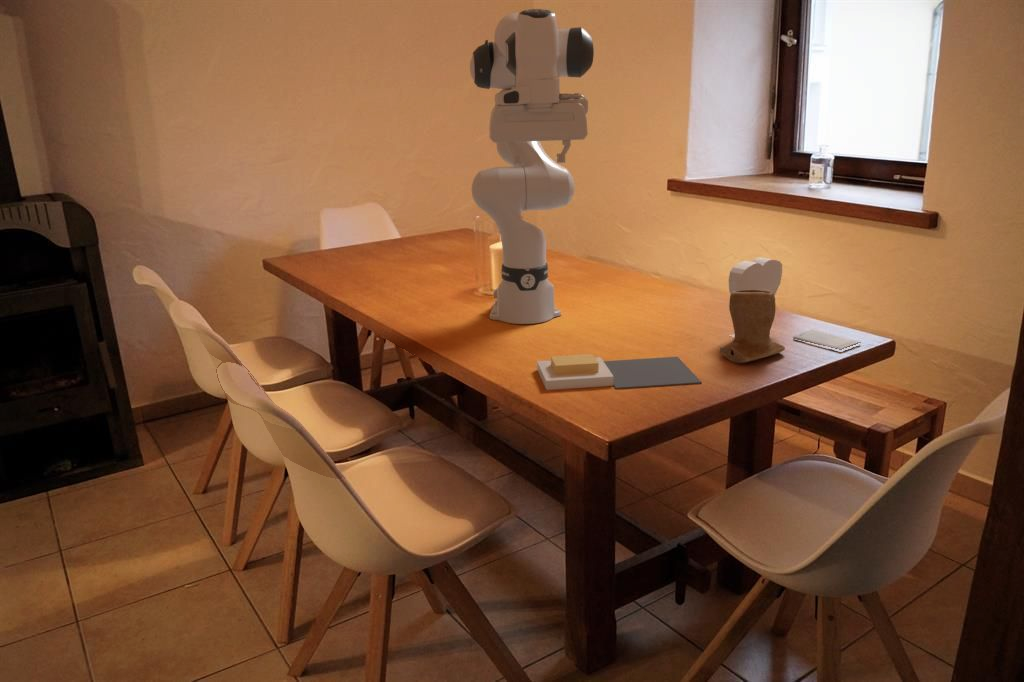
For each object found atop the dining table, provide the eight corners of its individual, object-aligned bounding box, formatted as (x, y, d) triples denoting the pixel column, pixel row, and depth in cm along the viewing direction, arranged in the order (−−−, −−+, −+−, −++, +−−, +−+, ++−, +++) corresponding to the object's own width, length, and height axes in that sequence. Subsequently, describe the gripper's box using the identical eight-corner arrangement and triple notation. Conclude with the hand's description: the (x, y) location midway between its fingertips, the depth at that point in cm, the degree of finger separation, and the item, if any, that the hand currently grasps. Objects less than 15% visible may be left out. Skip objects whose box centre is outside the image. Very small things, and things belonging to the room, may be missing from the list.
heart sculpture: (763, 324, 209) (768, 253, 203) (780, 329, 205) (786, 257, 200) (722, 337, 200) (726, 263, 195) (739, 342, 196) (744, 267, 191)
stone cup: (749, 342, 197) (754, 280, 192) (791, 355, 187) (797, 290, 182) (704, 355, 188) (708, 290, 184) (746, 369, 179) (750, 302, 174)
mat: (598, 362, 185) (598, 361, 185) (677, 357, 187) (677, 356, 187) (615, 389, 170) (615, 387, 170) (701, 383, 172) (701, 382, 172)
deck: (537, 369, 182) (537, 361, 181) (600, 365, 183) (600, 357, 183) (546, 390, 170) (546, 380, 170) (613, 385, 172) (613, 376, 171)
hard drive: (793, 335, 197) (840, 348, 187) (813, 328, 202) (861, 340, 192) (792, 342, 197) (840, 355, 188) (813, 335, 202) (860, 347, 193)
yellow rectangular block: (555, 374, 173) (555, 365, 172) (550, 365, 178) (550, 356, 178) (598, 372, 174) (598, 363, 173) (592, 362, 179) (592, 353, 179)
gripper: (584, 92, 174) (584, 160, 179) (487, 95, 172) (489, 163, 176) (591, 93, 168) (590, 163, 173) (490, 95, 166) (492, 166, 170)
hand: (538, 163), depth 174 cm, fingers open, 8 cm apart
